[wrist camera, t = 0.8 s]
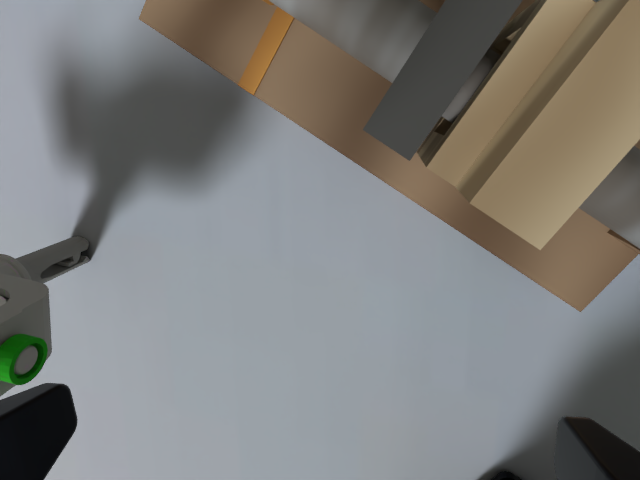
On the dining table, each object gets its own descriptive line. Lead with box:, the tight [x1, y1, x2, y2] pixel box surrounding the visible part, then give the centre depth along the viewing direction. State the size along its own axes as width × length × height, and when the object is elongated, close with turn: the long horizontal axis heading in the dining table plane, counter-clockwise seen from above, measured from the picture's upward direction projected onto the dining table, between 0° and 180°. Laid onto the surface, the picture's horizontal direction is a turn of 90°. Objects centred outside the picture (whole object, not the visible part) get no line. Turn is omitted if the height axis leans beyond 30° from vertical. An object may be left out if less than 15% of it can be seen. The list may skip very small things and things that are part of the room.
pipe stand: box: [139, 0, 640, 312], centre depth 15 cm, size 23×9×6 cm, turn 58°
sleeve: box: [417, 0, 640, 250], centre depth 12 cm, size 3×5×8 cm, turn 148°
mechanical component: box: [0, 236, 89, 396], centre depth 18 cm, size 3×10×10 cm, turn 81°
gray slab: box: [363, 0, 522, 161], centre depth 14 cm, size 2×6×6 cm, turn 149°
